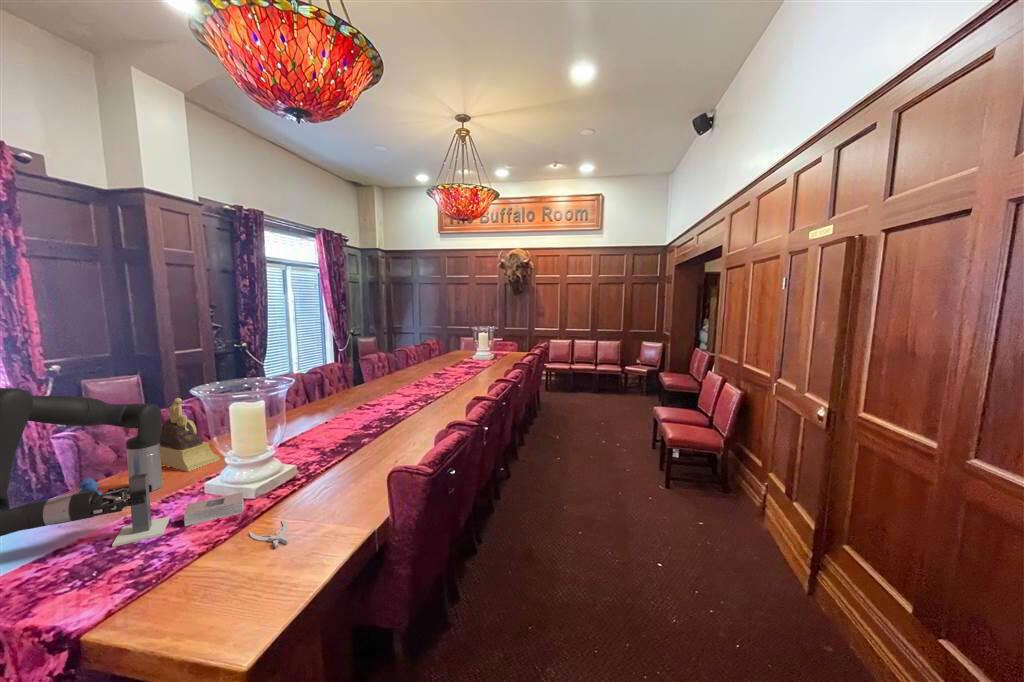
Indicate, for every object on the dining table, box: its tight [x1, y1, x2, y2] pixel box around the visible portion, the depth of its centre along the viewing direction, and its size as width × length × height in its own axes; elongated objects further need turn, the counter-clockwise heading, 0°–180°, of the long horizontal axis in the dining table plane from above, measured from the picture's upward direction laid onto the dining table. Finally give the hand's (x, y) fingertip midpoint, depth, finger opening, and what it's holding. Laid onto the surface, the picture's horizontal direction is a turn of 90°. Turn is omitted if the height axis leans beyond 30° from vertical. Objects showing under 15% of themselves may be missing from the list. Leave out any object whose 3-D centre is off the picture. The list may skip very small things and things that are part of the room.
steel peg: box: [128, 473, 152, 534], centre depth 118 cm, size 4×4×17 cm
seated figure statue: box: [160, 397, 221, 472], centre depth 173 cm, size 28×13×30 cm, turn 70°
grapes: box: [78, 477, 104, 495], centre depth 129 cm, size 12×7×12 cm, turn 65°
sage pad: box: [111, 516, 170, 548], centre depth 119 cm, size 11×11×1 cm
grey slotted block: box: [183, 492, 245, 527], centre depth 130 cm, size 8×15×4 cm, turn 123°
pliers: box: [248, 519, 290, 550], centre depth 117 cm, size 10×2×15 cm
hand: (148, 493), depth 119 cm, fingers open, 8 cm apart
